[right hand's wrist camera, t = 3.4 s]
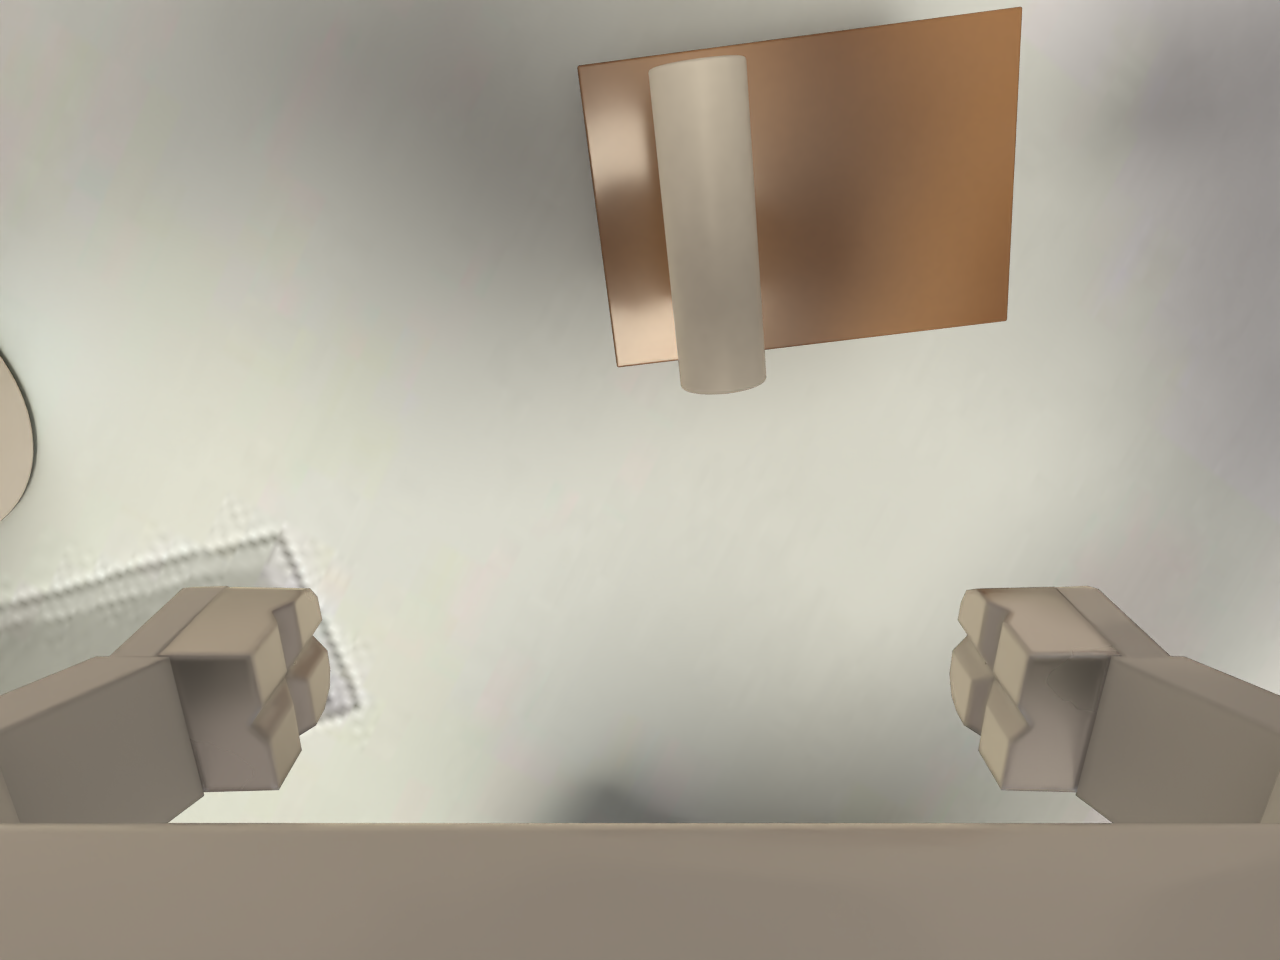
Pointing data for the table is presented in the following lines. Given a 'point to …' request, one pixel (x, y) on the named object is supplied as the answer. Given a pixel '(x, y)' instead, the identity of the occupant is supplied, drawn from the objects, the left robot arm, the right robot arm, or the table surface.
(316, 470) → the table surface
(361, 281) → the table surface
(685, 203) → the lid
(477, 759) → the table surface
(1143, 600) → the table surface
